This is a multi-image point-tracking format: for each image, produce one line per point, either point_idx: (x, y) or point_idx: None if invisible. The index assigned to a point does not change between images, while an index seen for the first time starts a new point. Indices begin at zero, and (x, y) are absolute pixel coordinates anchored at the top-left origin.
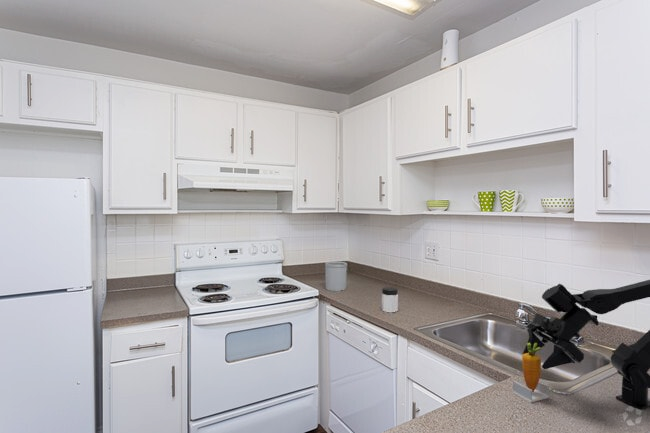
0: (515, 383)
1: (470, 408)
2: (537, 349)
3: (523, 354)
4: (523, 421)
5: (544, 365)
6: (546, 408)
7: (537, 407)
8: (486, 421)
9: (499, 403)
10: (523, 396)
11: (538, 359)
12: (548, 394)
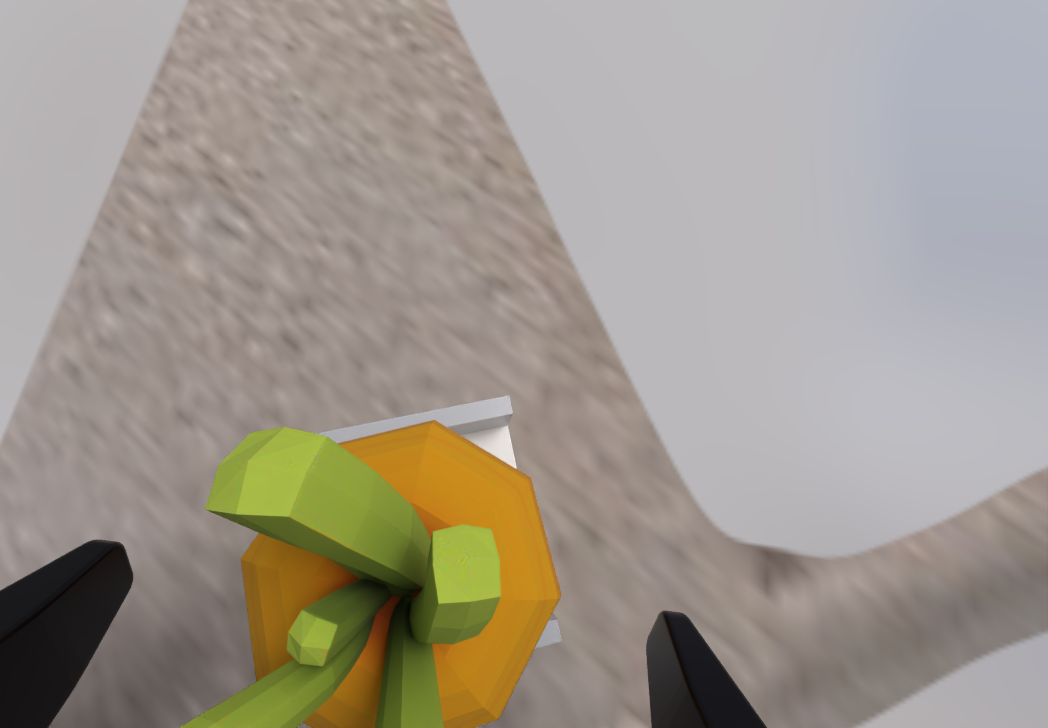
0: (481, 403)
1: (376, 40)
2: (209, 722)
3: (514, 482)
4: (161, 230)
5: (41, 572)
6: None
7: None
8: (233, 41)
9: (388, 227)
10: None
11: (250, 627)
12: None
